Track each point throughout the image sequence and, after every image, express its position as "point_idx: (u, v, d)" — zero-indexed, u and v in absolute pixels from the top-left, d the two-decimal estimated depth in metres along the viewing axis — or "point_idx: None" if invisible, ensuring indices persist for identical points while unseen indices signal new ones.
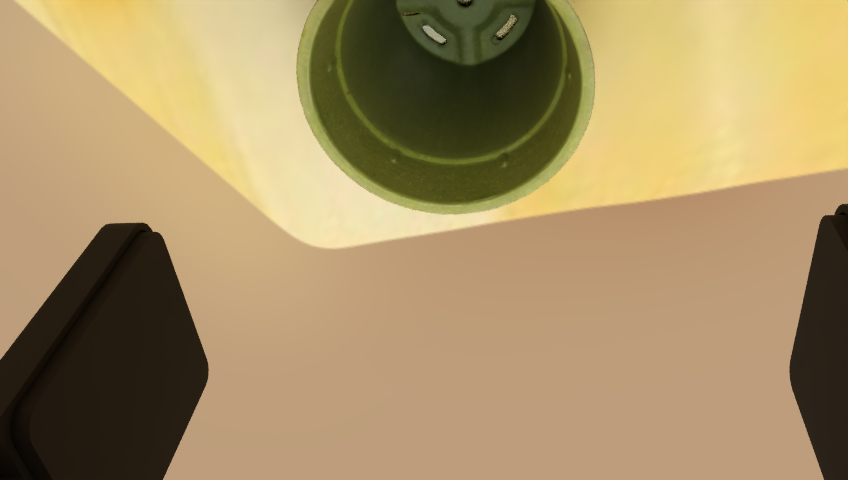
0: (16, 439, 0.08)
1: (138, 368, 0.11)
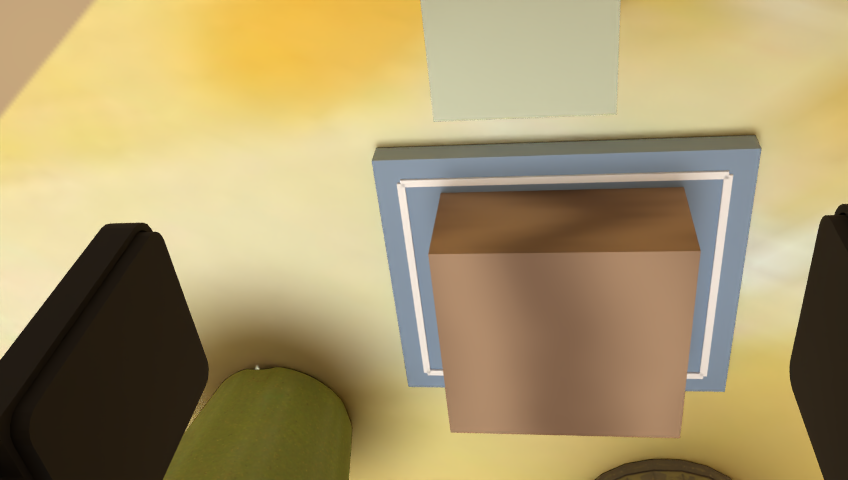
0: (16, 439, 0.08)
1: (138, 368, 0.11)
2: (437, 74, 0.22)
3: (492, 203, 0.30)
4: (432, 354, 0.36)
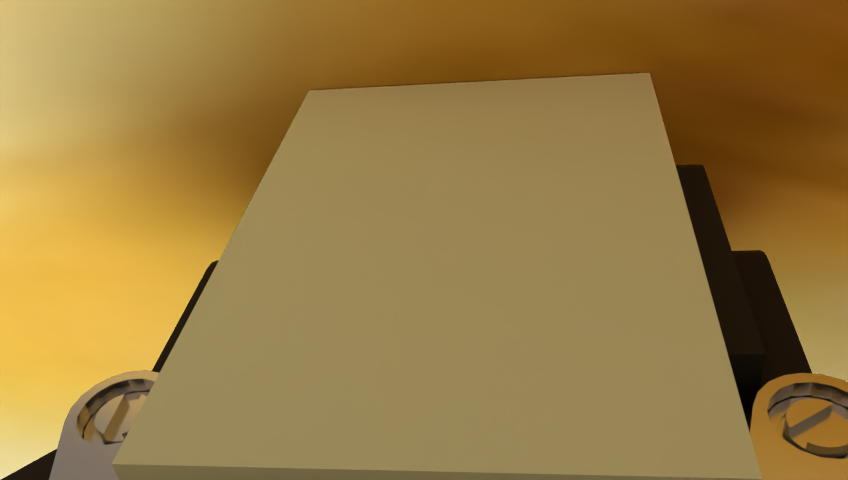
0: None
1: None
2: None
3: None
4: None
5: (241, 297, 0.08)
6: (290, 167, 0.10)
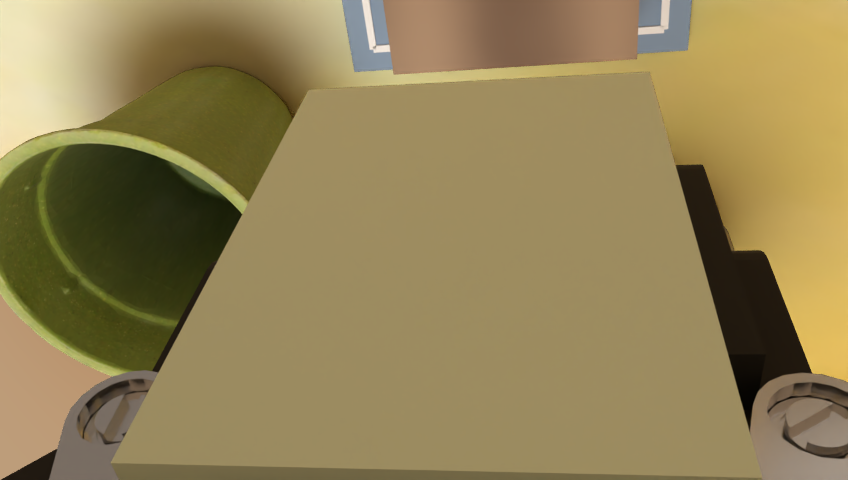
0: None
1: None
2: None
3: None
4: (377, 24, 0.34)
5: (240, 296, 0.08)
6: (289, 167, 0.10)
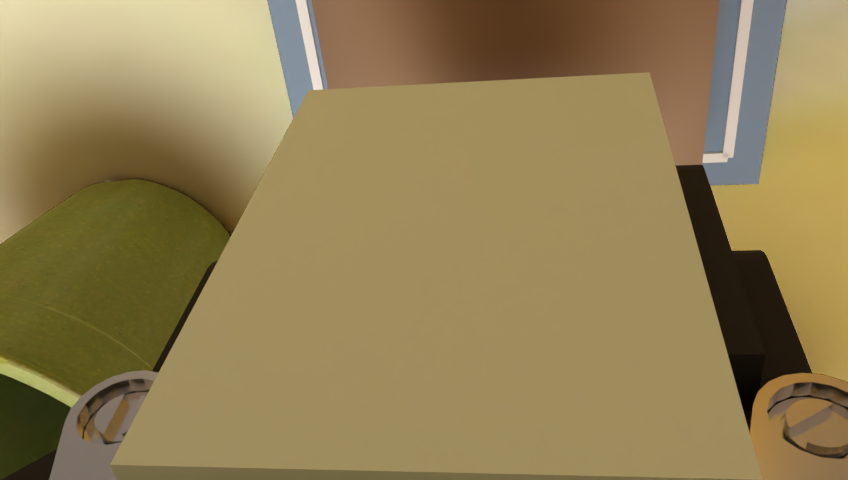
0: None
1: None
2: None
3: None
4: None
5: (240, 297, 0.08)
6: (289, 168, 0.10)
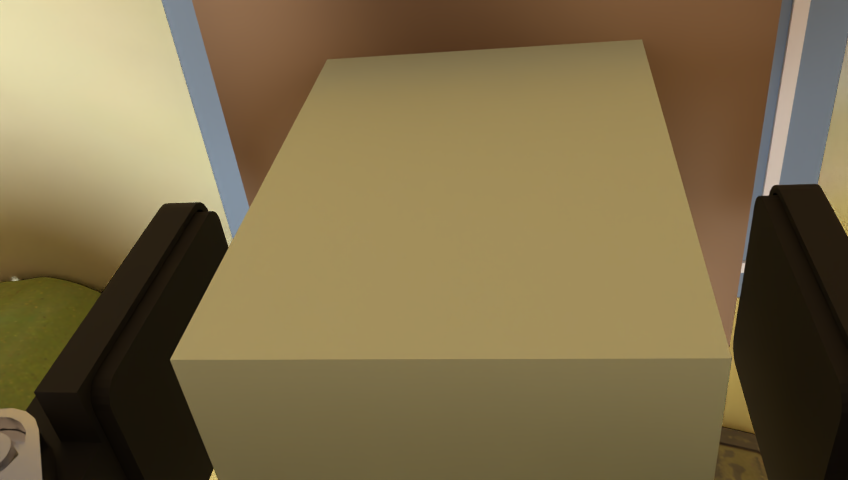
0: (96, 405, 0.09)
1: None
2: None
3: None
4: None
5: (275, 229, 0.09)
6: (312, 124, 0.11)
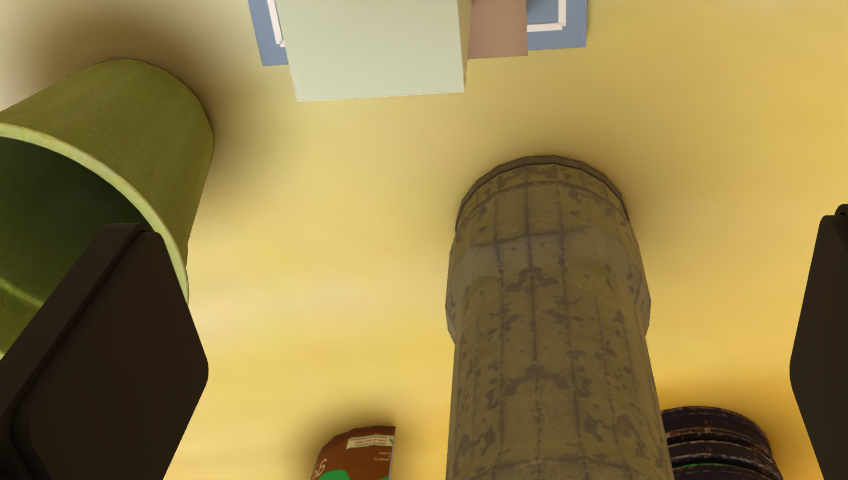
0: (16, 439, 0.08)
1: (138, 368, 0.11)
2: (295, 57, 0.23)
3: None
4: None
5: None
6: None
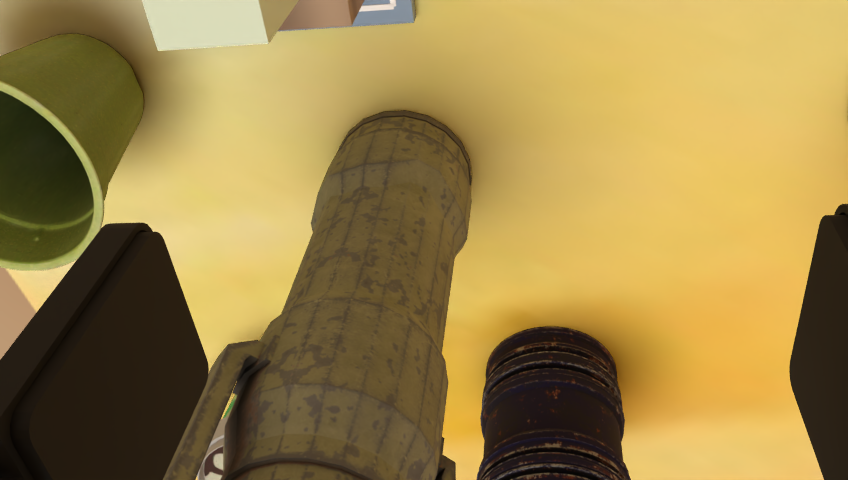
0: (16, 439, 0.08)
1: (138, 368, 0.11)
2: (153, 19, 0.34)
3: None
4: None
5: None
6: None
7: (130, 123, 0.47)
